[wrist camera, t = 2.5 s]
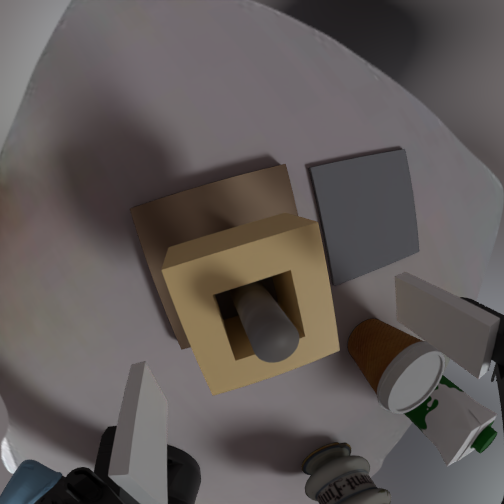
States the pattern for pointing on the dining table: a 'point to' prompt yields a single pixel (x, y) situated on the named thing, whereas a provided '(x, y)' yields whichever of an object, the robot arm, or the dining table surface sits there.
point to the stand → (212, 221)
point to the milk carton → (454, 422)
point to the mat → (366, 213)
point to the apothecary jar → (341, 477)
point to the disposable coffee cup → (396, 364)
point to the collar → (244, 272)
